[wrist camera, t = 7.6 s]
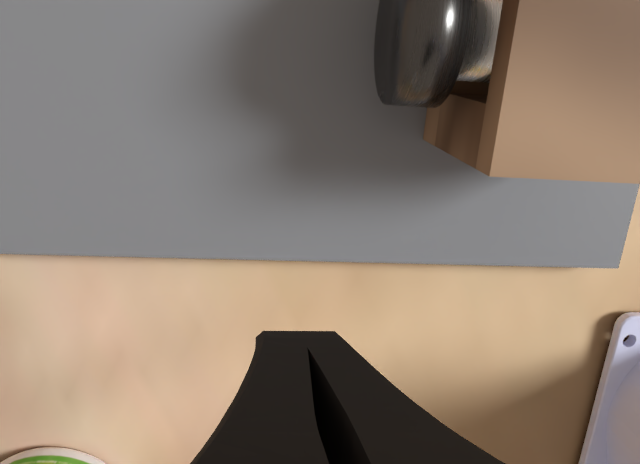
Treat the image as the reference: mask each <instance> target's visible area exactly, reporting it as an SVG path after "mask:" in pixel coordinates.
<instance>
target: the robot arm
mask: <svg viewBox="0 0 640 464" xmlns="http://www.w3.org/2000/svg"><path fill="white" fill-rule="evenodd" d="M627 335H629V337H628V339H627V340H626V341H624V342H623V340H624V338H625V337H626V336H627ZM190 464H505V463H503V462H501V461H500V460H498V459H496V458H495V457H493V456H491V455H490V454H488V453H487V452H485V451H483V450H482V449H480V448H479V447H477V446H476V445H474V444H472V443H471V442H469V441H468V440H466V439H464V438H463V437H461V436H460V435H458V434H457V433H455V432H454V431H452V430H451V429H450V428H448V427H447V426H445V425H444V424H442V423H441V422H440V421H438V420H437V419H436V418H434V417H433V416H432V415H430V414H429V413H428V412H427V411H425V410H424V409H423V408H421V407H420V406H419V405H417V404H416V403H415V402H413V401H412V400H411V399H410V398H409V397H407V396H406V395H405V394H404V393H402V392H401V391H400V390H399V389H398V388H396V387H395V386H394V385H393V384H392V383H391V382H389V381H388V380H387V379H386V378H385V377H384V376H383V375H381V374H380V373H379V372H378V371H377V370H376V369H375V368H374V367H373V366H371V365H370V364H369V363H368V362H367V361H366V360H365V359H364V358H363V357H362V356H361V355H360V354H359V353H358V352H356V351H355V350H354V349H353V348H352V347H351V346H350V345H349V344H348V343H347V342H346V341H345V340H344V339H343V338H342V337H340V336H339V335H338V334H337V333H336V332H335V331H263V332H262V333H260V334H259V335H258V336H257V337H256V348H255V352H254V356H253V359H252V361H251V364H250V367H249V369H248V372H247V374H246V376H245V378H244V380H243V382H242V384H241V386H240V388H239V391H238V393H237V394H236V396H235V398H234V400H233V402H232V403H231V405H230V407H229V408H228V410H227V412H226V413H225V415H224V417H223V418H222V420H221V422H220V423H219V425H218V426H217V428H216V429H215V431H214V432H213V434H212V435H211V437H210V438H209V440H208V441H207V442H206V444H205V445H204V447H203V448H202V449H201V451H200V452H199V453H198V454H197V456H196V457H195V458H194V460H193V461H192V462H191V463H190ZM579 464H640V312H628V313H624V314H622V315H621V316H620V317H619V318H618V319H617V320H616V322H615V324H614V328H613V332H612V336H611V340H610V344H609V348H608V352H607V355H606V359H605V363H604V367H603V371H602V375H601V379H600V383H599V386H598V390H597V394H596V398H595V402H594V406H593V410H592V413H591V417H590V421H589V425H588V429H587V433H586V437H585V441H584V444H583V448H582V452H581V456H580V460H579Z"/></svg>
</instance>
